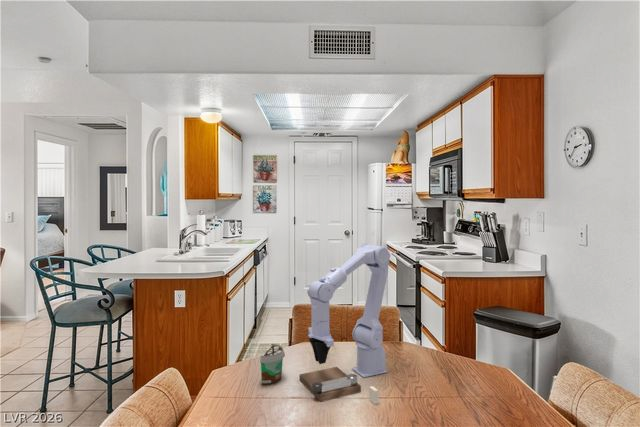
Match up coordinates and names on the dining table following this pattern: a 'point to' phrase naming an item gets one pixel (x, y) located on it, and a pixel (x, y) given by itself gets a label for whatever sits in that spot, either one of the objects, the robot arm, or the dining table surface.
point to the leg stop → (373, 395)
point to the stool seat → (326, 376)
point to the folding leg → (334, 384)
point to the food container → (272, 365)
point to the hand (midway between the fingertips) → (320, 361)
